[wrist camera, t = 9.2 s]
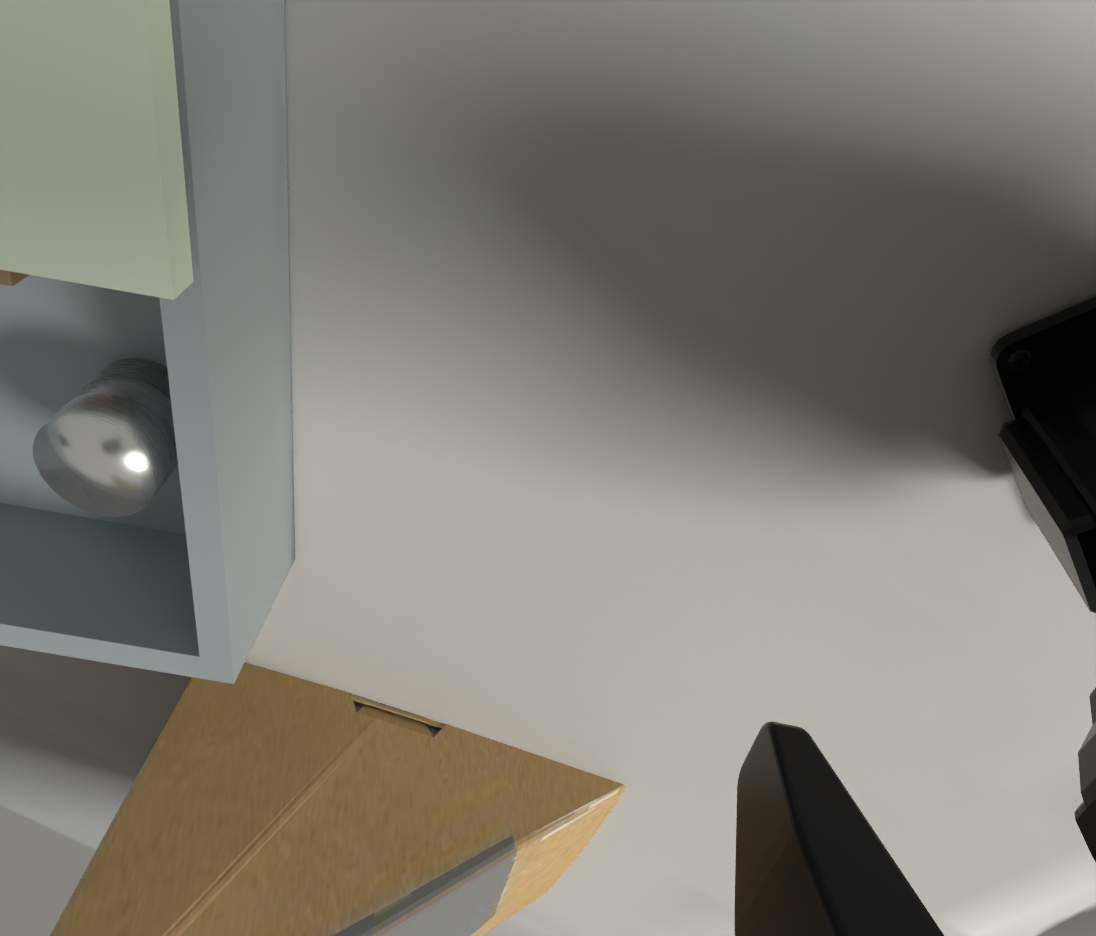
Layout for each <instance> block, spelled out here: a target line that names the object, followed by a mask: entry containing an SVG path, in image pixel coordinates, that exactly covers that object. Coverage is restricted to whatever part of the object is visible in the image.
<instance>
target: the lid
mask: <svg viewBox="0 0 1096 936" xmlns="http://www.w3.org/2000/svg"><path fill="white" fill-rule="evenodd" d="M0 270H6V271H11V272H17V273H23V274H28V275H34V276H40V277H46V278H51V279H57V280H63V281H68V282H74V283H80V284H85V285H91V286H97V287H103V288H108V289H114V290H120V291H125V292H131V293H137V294H142V295H148V296H154V297H159V298H165V299H171V300H174V299H176V298H177V297H178V296H179V295H180V294H181V293H182V292H183V291H184V290H185V289H186V288H187V287H188V286H189V285H190V284H191V283H192V282H193V281H194V280H193V269H192V257H191V246H190V234H189V223H188V211H187V200H186V188H185V177H184V165H183V153H182V142H181V130H180V119H179V107H178V96H177V84H176V73H175V61H174V50H173V38H172V27H171V15H170V4H169V0H0Z"/></svg>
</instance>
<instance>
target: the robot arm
mask: <svg viewBox="0 0 1096 936" xmlns="http://www.w3.org/2000/svg"><path fill="white" fill-rule="evenodd" d="M1018 350H1025V353H1024V355H1023V356H1022V357H1021V358H1020V359H1018V360H1017V361H1012V362H1009V361H1008V358H1009V357H1010V355H1011V354H1013V353H1014V352H1016V351H1018ZM990 357H991V363H992V365H993V368H994V371H995V374H996V376H997V379H998V382H999V384H1000V387H1001V390H1002V393H1003V395H1004V398H1005V401H1006V403H1007V406H1008V409H1009V412H1010V414H1011V417H1012V420H1011V421H1009V422H1006V423H1004V424H1003V426H1002V429H1001V431H1000V433H999V438H1000V440H1001V443H1002V445H1003V448H1004V451H1005V453H1006V456H1007V459H1008V461H1009V464H1010V466H1011V469H1012V472H1013V474H1014V477H1015V479H1016V482H1017V485H1018V487H1019V490H1020V493H1021V495H1022V498H1023V500H1024V503H1025V505H1026V507H1027V509H1028V510H1029V512H1030V514H1031V515H1032V517H1033V519H1034V520H1035V522H1036V523H1037V525H1038V527H1039V528H1040V530H1041V532H1042V533H1043V535H1044V537H1045V538H1046V540H1047V541H1048V543H1049V545H1050V546H1051V548H1052V550H1053V551H1054V553H1055V555H1056V556H1057V558H1058V559H1059V561H1060V563H1061V564H1062V566H1063V568H1064V569H1065V571H1066V573H1067V574H1068V576H1069V577H1070V579H1071V581H1072V582H1073V584H1074V586H1075V587H1076V589H1077V591H1078V592H1079V594H1080V595H1081V597H1082V599H1083V600H1084V602H1085V604H1086V605H1087V607H1088V609H1089V610H1090V611H1091V612H1094V613H1096V297H1094V298H1092V299H1089V300H1087V301H1085V302H1082V303H1080V304H1078V305H1075V306H1073V307H1071V308H1068V309H1066V310H1064V311H1061V312H1059V313H1057V314H1054V315H1052V316H1050V317H1047V318H1045V319H1042V320H1040V321H1038V322H1035V323H1033V324H1031V325H1028V326H1026V327H1024V328H1021V329H1019V330H1017V331H1014V332H1012V333H1010V334H1007V335H1006V336H1004V337H1002V338H1001V339H999V340H998V341H997V342H996V344H995V345H994V346H993V348H992V351H991V353H990ZM1090 704H1091V713H1092V723H1093V725H1092V727H1091V729H1090V731H1089V733H1088V735H1087V737H1086V739H1085V741H1084V743H1083V745H1082V747H1081V748H1080V750H1079V752H1078V756H1079V771H1080V785H1081V794H1082V797H1083V801H1084V802H1083V803H1082V804H1081V805H1080V806H1079V807H1078V808H1077V810H1076V811H1075V819H1076V822H1077V824H1078V826H1079V828H1080V831H1081V833H1082V835H1083V837H1084V839H1085V841H1086V844H1087V846H1088V848H1089V850H1090V852H1091V854H1092V856H1093V858H1094V860H1095V862H1096V688H1095V689H1094V690H1093V691H1092V693H1091V694H1090ZM735 936H944V935H943V933H942V932H941V930H940V929H939V927H938V926H937V924H936V923H935V921H934V920H933V918H932V917H931V915H930V914H929V912H928V911H927V909H926V908H925V906H924V905H923V903H922V902H921V900H920V899H919V897H918V896H917V894H916V893H915V891H914V890H913V888H912V887H911V885H910V884H909V882H908V881H907V879H906V878H905V876H904V875H903V873H902V872H901V870H900V869H899V868H898V866H897V865H896V863H895V862H894V860H893V859H892V857H891V856H890V854H889V853H888V851H887V850H886V848H885V847H884V845H883V844H882V842H881V841H880V839H879V838H878V836H877V835H876V833H875V832H874V830H873V829H872V827H871V826H870V824H869V823H868V821H867V820H866V818H865V817H864V815H863V814H862V812H861V811H860V809H859V808H858V806H857V805H856V803H855V802H854V800H853V799H852V797H851V796H850V794H849V793H848V791H847V790H846V788H845V787H844V785H843V784H842V782H841V781H840V779H839V778H838V776H837V775H836V773H835V772H834V770H833V769H832V767H831V766H830V764H829V763H828V761H827V760H826V758H825V757H824V755H823V754H822V752H821V751H820V749H819V748H818V746H817V745H816V743H815V742H814V740H813V739H812V737H811V736H810V735H809V733H807V732H806V731H805V730H804V729H802V728H800V727H797V726H792V725H787V724H782V723H777V722H768V723H766V724H764V725H763V727H762V728H761V729H760V731H759V733H758V735H757V737H756V739H755V741H754V743H753V745H752V747H751V749H750V751H749V753H748V755H747V757H746V759H745V761H744V763H743V765H742V767H741V770H740V774H739V779H738V787H737V828H736V874H735Z"/></svg>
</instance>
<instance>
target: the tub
mask: <svg viewBox="0 0 1096 936" xmlns="http://www.w3.org/2000/svg"><path fill="white" fill-rule="evenodd" d="M169 4H170V15H171V27H172V38H173V50H174V61H175V73H176V84H177V96H178V107H179V119H180V130H181V142H182V153H183V165H184V177H185V188H186V200H187V211H188V223H189V234H190V246H191V257H192V269H193V280H194V281H193V282H192V283H191V284H190V285H189V286H188V287H187V288H186V289H185V290H184V291H183V292H182V293H181V294H180V295H179V296H178V297H177V298H176V299H174V300H171V299H165V298H159V297H154V296H148V295H142V294H137V293H131V292H125V291H120V290H114V289H108V288H103V287H97V286H91V285H85V284H80V283H74V282H68V281H63V280H57V279H51V278H46V277H40V276H34V275H29V276H27V277H26V278H24V279H23V280H21V281H20V282H18V283H17V284H16V285H14V286H8V285H2V284H0V645H2V646H8V647H14V648H20V649H26V650H32V651H38V652H44V653H50V654H56V655H62V656H68V657H74V658H80V659H86V660H92V661H98V662H104V663H110V664H116V665H122V666H128V667H134V668H140V669H146V670H152V671H158V672H164V673H170V674H176V675H182V676H188V677H194V678H200V679H206V680H212V681H218V682H224V683H230V684H234V683H235V681H236V679H237V677H238V675H239V673H240V671H241V668H242V666H243V664H244V662H245V660H246V658H247V656H248V654H249V652H250V650H251V648H252V646H253V644H254V642H255V640H256V638H257V636H258V634H259V632H260V630H261V628H262V625H263V623H264V621H265V619H266V617H267V615H268V613H269V611H270V609H271V607H272V605H273V603H274V601H275V599H276V597H277V595H278V593H279V591H280V589H281V587H282V584H283V582H284V580H285V578H286V576H287V574H288V572H289V570H290V568H291V566H292V564H293V562H294V560H295V536H294V483H293V430H292V377H291V324H290V271H289V218H288V166H287V113H286V60H285V7H284V0H169ZM126 358H140V359H146V360H150V361H153V362H156V363H159V364H161V365H163V366H165V367H167V370H168V379H169V388H170V397H171V406H172V415H173V424H174V433H175V442H176V450H177V459H178V466H177V467H176V468H175V469H174V471H173V472H172V473H171V475H170V476H169V477H168V479H167V480H166V481H165V483H164V484H163V485H162V487H161V488H160V489H159V490H158V492H157V493H156V494H155V496H154V497H153V498H152V500H151V501H150V502H149V504H148V505H147V506H146V507H145V508H144V509H142V510H140V511H139V512H137V513H134V514H132V515H128V516H122V517H108V516H101V515H97V514H93V513H90V512H87V511H84V510H82V509H80V508H78V507H76V506H74V505H72V504H70V503H69V502H67V501H66V500H64V499H63V498H62V497H60V496H59V495H58V494H57V493H56V492H54V491H53V490H52V489H51V488H50V487H49V485H48V484H47V483H46V482H45V480H44V479H43V478H42V476H41V475H40V473H39V471H38V469H37V467H36V464H35V461H34V457H33V442H34V439H35V436H36V434H37V433H38V431H39V430H40V429H41V428H42V427H43V426H44V425H45V424H46V423H47V422H48V421H49V420H50V419H51V418H52V417H53V416H54V415H55V414H56V413H57V412H58V411H59V410H60V409H62V408H63V407H64V406H65V405H66V404H67V403H68V402H69V401H70V400H71V399H72V398H73V397H74V396H75V395H76V394H77V393H78V392H79V391H81V390H82V389H83V388H84V387H85V386H86V385H87V384H88V383H89V382H90V381H91V380H92V379H93V378H94V377H95V376H96V375H97V374H98V373H99V372H101V371H102V370H103V369H104V368H105V367H106V366H107V365H109V364H111V363H112V362H114V361H117V360H120V359H126Z"/></svg>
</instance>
